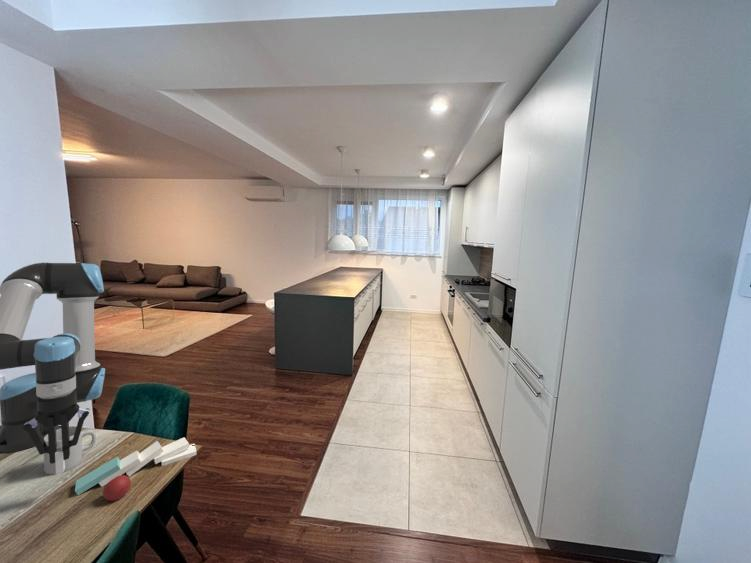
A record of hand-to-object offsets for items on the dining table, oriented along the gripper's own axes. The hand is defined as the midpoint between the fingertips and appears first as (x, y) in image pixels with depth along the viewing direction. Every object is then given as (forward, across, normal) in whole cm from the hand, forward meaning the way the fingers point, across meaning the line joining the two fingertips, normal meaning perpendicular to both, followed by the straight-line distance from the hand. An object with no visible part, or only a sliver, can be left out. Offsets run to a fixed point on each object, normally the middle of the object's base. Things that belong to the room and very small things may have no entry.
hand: (60, 470), depth 84 cm
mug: (+8, 0, +16) cm, 17 cm away
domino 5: (+7, +23, 0) cm, 24 cm away
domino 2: (+7, +8, 0) cm, 11 cm away
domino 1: (+7, +3, -1) cm, 7 cm away
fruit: (+8, +13, -11) cm, 18 cm away
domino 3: (+7, +14, 0) cm, 16 cm away
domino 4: (+5, +21, 0) cm, 22 cm away
